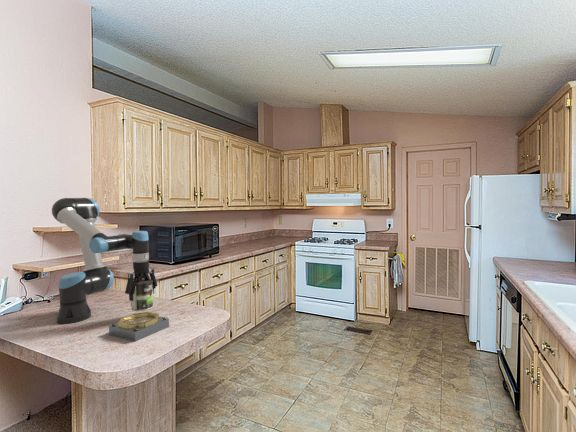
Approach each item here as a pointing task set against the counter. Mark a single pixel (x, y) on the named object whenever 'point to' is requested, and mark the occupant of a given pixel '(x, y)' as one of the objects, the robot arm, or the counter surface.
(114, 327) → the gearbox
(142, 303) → the coffee can
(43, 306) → the counter surface
